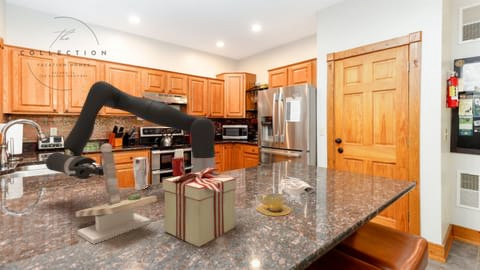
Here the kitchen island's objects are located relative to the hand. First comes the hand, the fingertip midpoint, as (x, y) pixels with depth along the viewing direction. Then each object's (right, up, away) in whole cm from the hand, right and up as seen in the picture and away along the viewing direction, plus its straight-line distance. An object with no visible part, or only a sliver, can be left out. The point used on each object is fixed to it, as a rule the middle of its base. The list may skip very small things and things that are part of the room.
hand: (103, 172), depth 72 cm
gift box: (+32, -16, -5) cm, 36 cm away
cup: (+54, -16, +11) cm, 57 cm away
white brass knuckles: (+67, -15, +37) cm, 79 cm away
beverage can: (+12, -15, +42) cm, 46 cm away
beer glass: (-6, -15, +41) cm, 44 cm away
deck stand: (+6, -16, -3) cm, 17 cm away
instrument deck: (+6, -10, -4) cm, 12 cm away
